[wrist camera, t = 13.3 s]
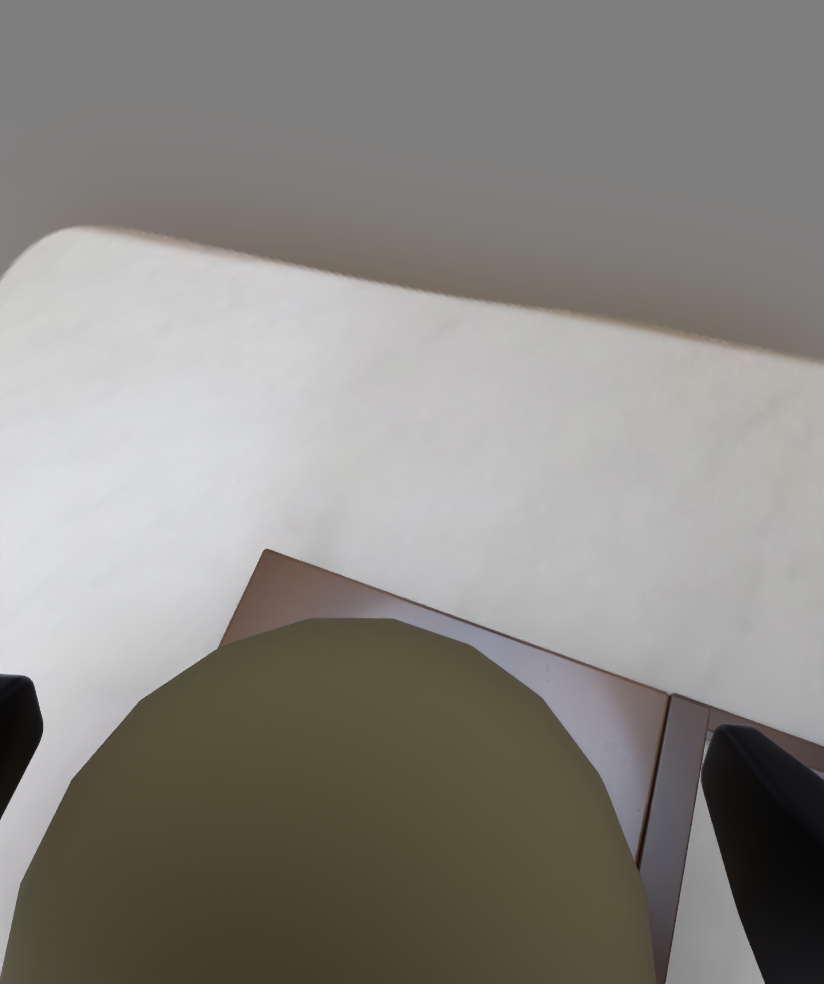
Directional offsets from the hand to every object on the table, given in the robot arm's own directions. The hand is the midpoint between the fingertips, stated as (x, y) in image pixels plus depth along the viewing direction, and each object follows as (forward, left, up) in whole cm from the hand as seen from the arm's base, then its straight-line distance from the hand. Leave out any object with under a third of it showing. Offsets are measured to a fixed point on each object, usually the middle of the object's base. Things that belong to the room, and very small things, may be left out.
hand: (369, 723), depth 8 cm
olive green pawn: (-1, -1, -7) cm, 7 cm away
